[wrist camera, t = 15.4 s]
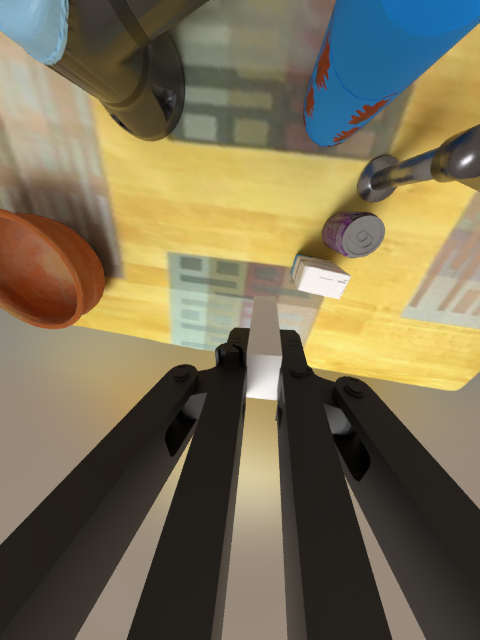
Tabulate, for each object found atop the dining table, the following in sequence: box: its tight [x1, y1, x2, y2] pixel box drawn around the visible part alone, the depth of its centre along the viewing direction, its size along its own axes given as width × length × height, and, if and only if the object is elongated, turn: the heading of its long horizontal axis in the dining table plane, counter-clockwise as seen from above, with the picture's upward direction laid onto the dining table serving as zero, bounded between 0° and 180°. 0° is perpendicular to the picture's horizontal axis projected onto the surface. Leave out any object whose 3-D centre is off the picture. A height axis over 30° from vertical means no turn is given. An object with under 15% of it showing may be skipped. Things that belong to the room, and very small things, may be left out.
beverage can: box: [322, 212, 385, 258], centre depth 36 cm, size 7×7×12 cm
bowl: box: [0, 209, 105, 329], centre depth 45 cm, size 25×25×15 cm
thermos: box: [303, 0, 480, 147], centre depth 21 cm, size 11×11×25 cm
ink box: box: [291, 254, 351, 299], centre depth 40 cm, size 8×5×12 cm, turn 80°
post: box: [357, 147, 439, 202], centre depth 29 cm, size 7×7×16 cm
